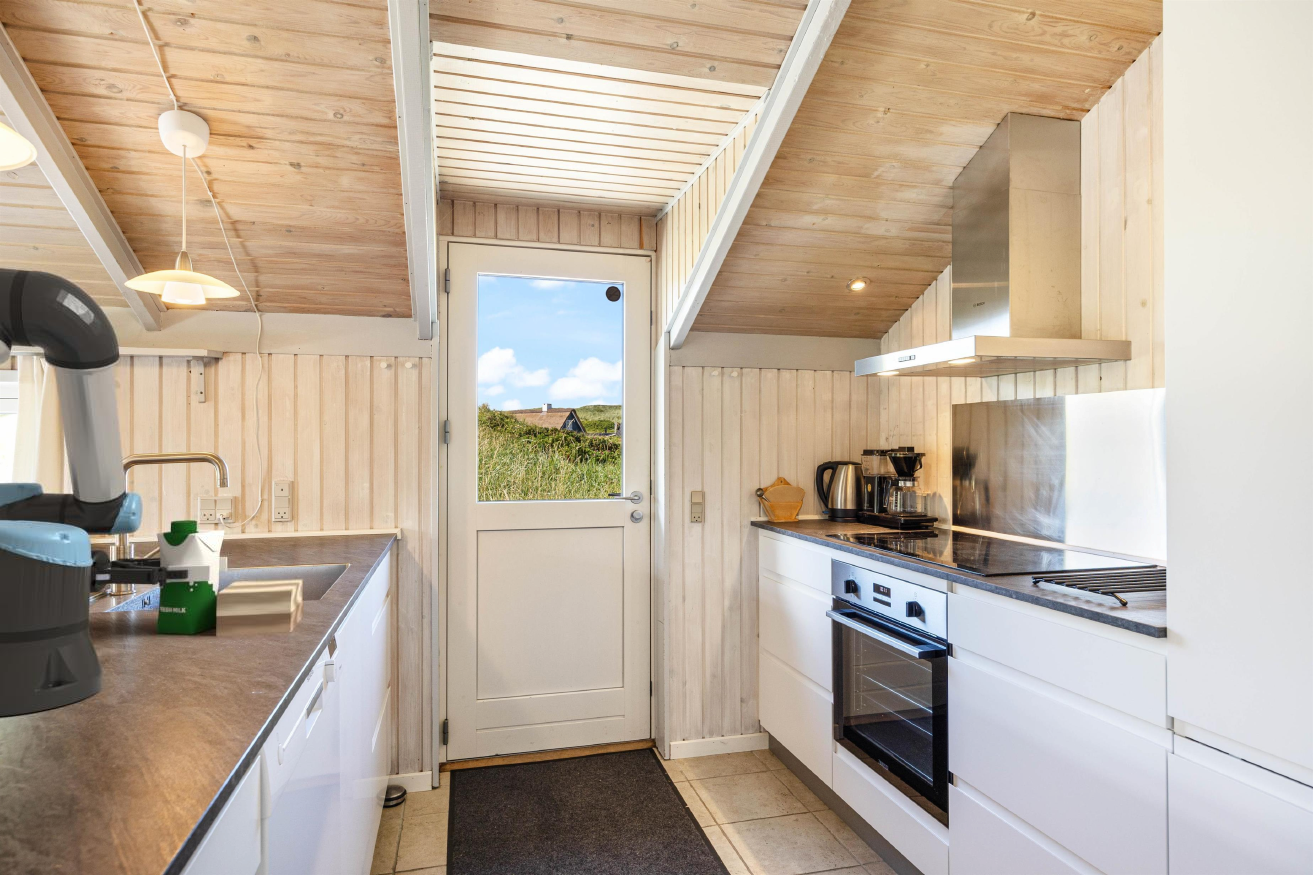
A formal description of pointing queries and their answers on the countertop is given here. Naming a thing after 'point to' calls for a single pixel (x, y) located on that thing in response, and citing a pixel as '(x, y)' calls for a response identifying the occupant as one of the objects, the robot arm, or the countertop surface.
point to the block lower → (259, 623)
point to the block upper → (259, 597)
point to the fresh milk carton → (192, 600)
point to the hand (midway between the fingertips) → (218, 568)
